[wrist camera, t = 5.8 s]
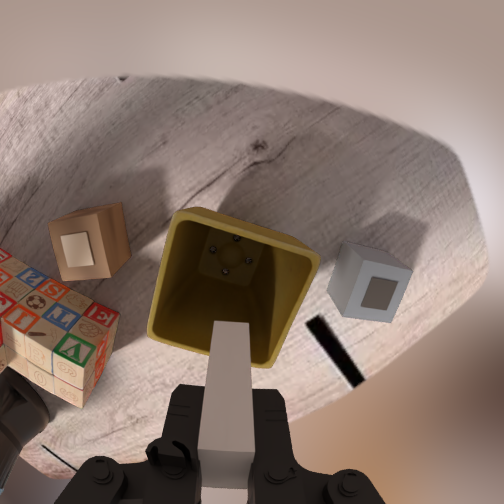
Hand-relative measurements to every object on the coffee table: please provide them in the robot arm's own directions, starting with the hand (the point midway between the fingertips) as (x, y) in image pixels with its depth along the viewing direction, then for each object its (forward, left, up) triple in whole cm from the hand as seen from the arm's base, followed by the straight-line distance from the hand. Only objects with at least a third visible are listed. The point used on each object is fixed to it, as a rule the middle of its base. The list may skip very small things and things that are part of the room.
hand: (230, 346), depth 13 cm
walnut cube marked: (-12, +1, -14) cm, 18 cm away
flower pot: (0, 0, -14) cm, 14 cm away
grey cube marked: (+12, -1, -14) cm, 18 cm away
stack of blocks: (-22, -7, -14) cm, 27 cm away
